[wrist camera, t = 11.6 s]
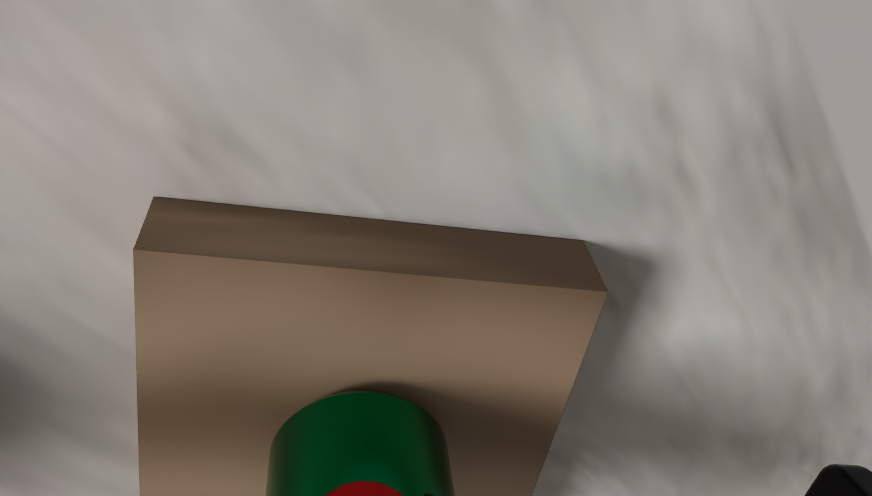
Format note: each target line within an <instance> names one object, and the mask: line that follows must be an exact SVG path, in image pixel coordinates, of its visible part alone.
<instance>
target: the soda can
mask: <svg viewBox="0 0 872 496" xmlns="http://www.w3.org/2000/svg"><path fill="white" fill-rule="evenodd" d="M266 496H455V492H454V486H453V480H452V473H451V467H450V461H449V454H448V448H447V442H446V439H445V435H444V432H443V431H442V429H441V427H440V425H439V424H438V422H437V421H436V420H435V419H434V418H433V416H432V415H430V414H429V413H428V412H427V411H425V410H424V409H423V408H421V407H420V406H418V405H416V404H414V403H413V402H411V401H409V400H407V399H405V398H402V397H400V396H397V395H395V394H392V393H388V392H384V391H378V390H370V389H356V390H347V391H342V392H337V393H333V394H330V395H327V396H325V397H322V398H320V399H318V400H316V401H314V402H312V403H310V404H308V405H307V406H305V407H304V408H302V409H301V410H299V411H298V412H296V413H295V414H293V415H292V416H291V417H290V418H289V419H288V420H287V421H286V422H285V423H284V424H283V425H282V426H281V428H280V429H279V430H278V432H277V433H276V435H275V437H274V439H273V441H272V444H271V448H270V453H269V464H268V475H267V486H266Z"/></svg>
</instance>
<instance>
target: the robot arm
mask: <svg viewBox="0 0 872 496" xmlns="http://www.w3.org/2000/svg"><path fill="white" fill-rule="evenodd" d="M805 496H872V472H871V471H870V470H868V469H866V468H864V467H861V466H857V465H839V464H832V465H828V466H826V467H824V468H823V469H822V470H821V472H820V473H819V475H818V476H817V478H816V479H815V481H814V482H813V484H812V485H811V487H810V488H809V490H808V491H807V493H806V494H805Z"/></svg>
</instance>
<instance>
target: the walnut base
mask: <svg viewBox="0 0 872 496" xmlns="http://www.w3.org/2000/svg"><path fill="white" fill-rule="evenodd" d="M133 256H134V293H135V330H136V367H137V404H138V442H139V479H140V496H266V486H267V475H268V464H269V453H270V448H271V444H272V441H273V439H274V437H275V435H276V433H277V432H278V430H279V429H280V428H281V426H282V425H283V424H284V423H285V422H286V421H287V420H288V419H289V418H290V417H291V416H292V415H293V414H295V413H296V412H298V411H299V410H301V409H302V408H304V407H305V406H307V405H308V404H310V403H312V402H314V401H316V400H318V399H320V398H322V397H325V396H327V395H330V394H333V393H337V392H342V391H347V390H356V389H370V390H378V391H384V392H388V393H392V394H395V395H397V396H400V397H402V398H405V399H407V400H409V401H411V402H413V403H414V404H416V405H418V406H420V407H421V408H423V409H424V410H425V411H427V412H428V413H429V414H430V415H432V416H433V418H434V419H435V420H436V421H437V422H438V424H439V425H440V427H441V429H442V431H443V432H444V435H445V439H446V442H447V448H448V454H449V461H450V467H451V473H452V480H453V486H454V492H455V496H532V493H533V490H534V488H535V485H536V482H537V480H538V477H539V474H540V472H541V469H542V466H543V464H544V461H545V458H546V456H547V453H548V450H549V448H550V445H551V442H552V440H553V437H554V434H555V432H556V429H557V426H558V424H559V421H560V418H561V416H562V413H563V410H564V408H565V405H566V402H567V400H568V397H569V394H570V392H571V389H572V386H573V384H574V381H575V378H576V376H577V373H578V370H579V368H580V365H581V362H582V360H583V357H584V354H585V352H586V349H587V347H588V344H589V341H590V339H591V336H592V333H593V331H594V328H595V325H596V323H597V320H598V317H599V315H600V312H601V309H602V307H603V304H604V301H605V299H606V296H607V293H608V291H607V289H606V287H605V285H604V283H603V281H602V279H601V277H600V275H599V273H598V270H597V268H596V266H595V264H594V262H593V260H592V258H591V256H590V254H589V252H588V250H587V248H586V246H585V244H584V242H583V241H580V240H570V239H561V238H551V237H541V236H531V235H521V234H512V233H502V232H492V231H482V230H472V229H463V228H453V227H443V226H433V225H424V224H414V223H404V222H394V221H384V220H375V219H365V218H355V217H345V216H335V215H326V214H316V213H306V212H296V211H286V210H277V209H267V208H257V207H247V206H237V205H228V204H218V203H208V202H198V201H188V200H179V199H169V198H159V197H153V200H152V202H151V205H150V208H149V210H148V213H147V215H146V218H145V221H144V223H143V226H142V228H141V231H140V234H139V236H138V239H137V241H136V244H135V247H134V249H133Z"/></svg>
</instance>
